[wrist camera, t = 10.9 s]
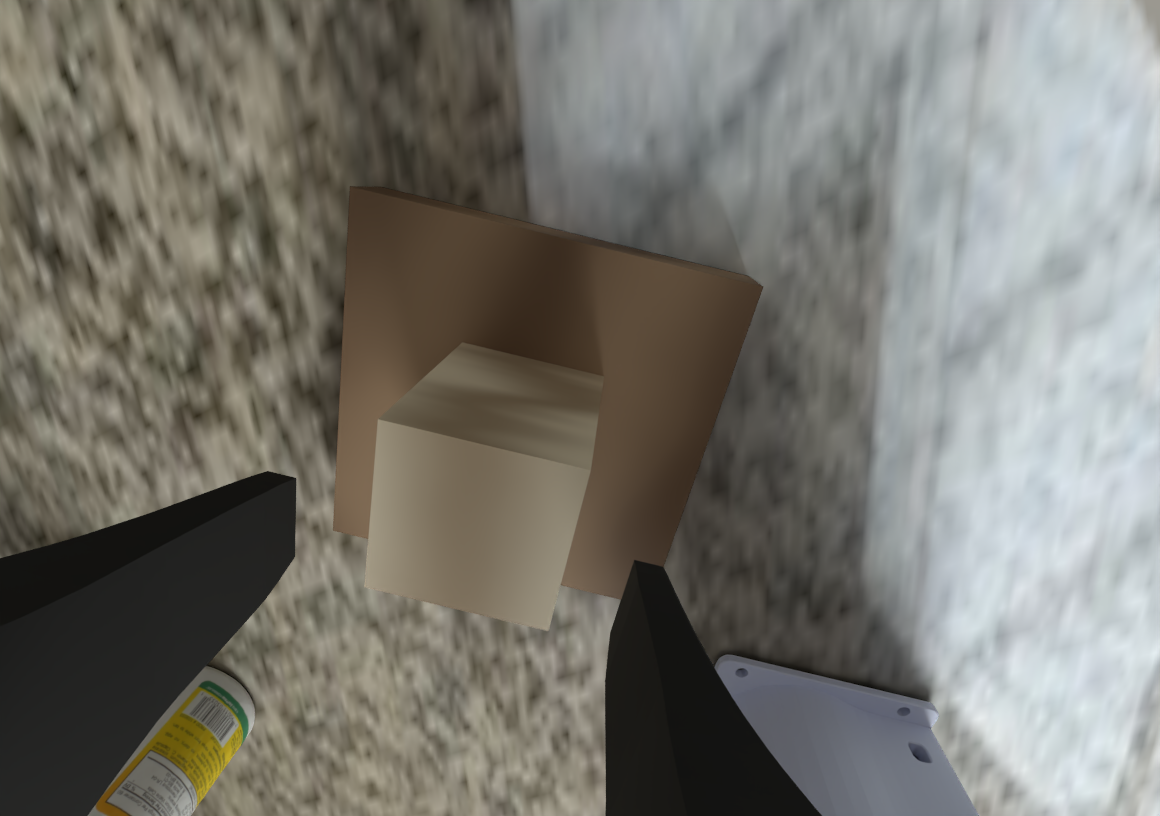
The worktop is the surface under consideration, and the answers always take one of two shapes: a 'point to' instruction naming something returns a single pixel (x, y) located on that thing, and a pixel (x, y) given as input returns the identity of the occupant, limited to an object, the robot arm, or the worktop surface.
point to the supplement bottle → (183, 750)
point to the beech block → (482, 484)
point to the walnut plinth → (542, 354)
